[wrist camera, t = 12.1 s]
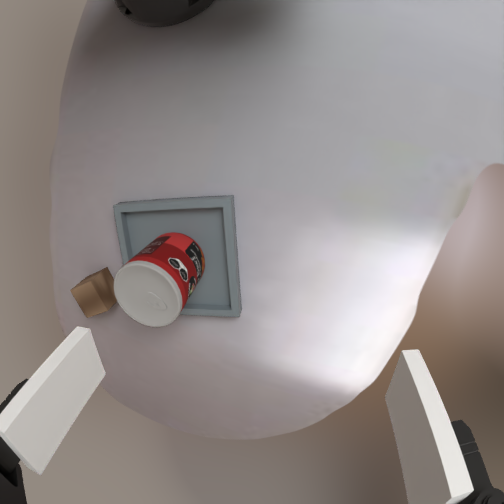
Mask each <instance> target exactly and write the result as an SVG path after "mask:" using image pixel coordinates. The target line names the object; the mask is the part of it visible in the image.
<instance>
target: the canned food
mask: <svg viewBox="0 0 504 504" xmlns="http://www.w3.org/2000/svg"><path fill="white" fill-rule="evenodd" d="M204 269H205V258H204V254H203V252H202V250H201V248H200V246H199V245H198V244H197V243H196V242H195V241H194V240H193V239H192V238H190V237H189V236H187V235H185V234H182V233H176V232H171V233H165V234H162V235H160V236H159V237H157V238H156V239H155V240H153V241H152V242H151V243H150V244H148V245H147V246H146V247H145V248H144V249H142V250H141V251H140V252H139V253H137V254H136V255H135V256H134V257H133V258H131V259H130V260H129V261H128V262H127V263H126V264H125V265H124V266H123V267H122V268H121V269H120V270H119V271H118V272H117V274H116V276H115V279H114V293H115V297H116V299H117V302H118V303H119V305H120V307H121V308H122V309H123V311H124V312H125V313H126V314H127V315H128V316H129V317H131V318H132V319H133V320H135V321H136V322H138V323H140V324H143V325H145V326H149V327H164V326H167V325H169V324H171V323H172V322H173V321H175V319H176V318H177V317H178V316H179V314H180V313H181V311H182V309H183V308H184V306H185V304H186V303H187V301H188V299H189V298H190V296H191V294H192V292H193V291H194V289H195V287H196V286H197V284H198V282H199V280H200V279H201V277H202V275H203V273H204Z"/></svg>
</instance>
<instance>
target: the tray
mask: <svg viewBox="0 0 504 504" xmlns="http://www.w3.org/2000/svg"><path fill="white" fill-rule="evenodd" d="M113 208H114V214H115V221H116V227H117V233H118V238H119V244H120V249H121V254H122V259H123V264H124V265H125V264H126V263H127V262H128V261H129V260H130V259H131V258H133V257H134V256H135V255H136V254H137V253H139V252H140V251H141V250H142V249H144V248H145V247H146V246H147V245H148V244H150V243H151V242H152V241H153V240H155V239H156V238H157V237H159V236H160V235H162V234H165V233H171V232H176V233H182V234H185V235H187V236H189V237H190V238H192V239H193V240H194V241H195V242H196V243H197V244H198V245H199V246H200V248H201V250H202V252H203V254H204V258H205V269H204V273H203V275H202V277H201V279H200V280H199V282H198V284H197V286H196V287H195V289H194V291H193V292H192V294H191V296H190V298H189V299H188V301H187V303H186V304H185V306H184V308H183V309H182V311H181V313H180V314H183V315H202V316H228V317H240V313H241V310H242V307H241V294H240V280H239V267H238V252H237V238H236V223H235V208H234V195H231V196H207V197H188V198H172V199H157V200H143V201H131V202H120V203H118V204H116V205H114V206H113Z"/></svg>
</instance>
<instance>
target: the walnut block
mask: <svg viewBox="0 0 504 504" xmlns="http://www.w3.org/2000/svg"><path fill="white" fill-rule="evenodd" d="M70 291H71V292H72V294H73V296H74V298H75V299H76V301H77V303H78V304H79V306H80V308H81V309H82V311H83V312H84V314H85V316H86V317H87V318H88V317H91V316H94V315H97V314H100V313H103V312H106V311H108V310H109V309H110V308H111V307H112V306H113V305H114V304H115V303H116V301H117V299H116V297H115V293H114V279H113V277H112V275H111V273H110V271H109V270H108V268H107V267H106V268H104V269H102V270H100V271H98V272H96V273H94V274H92V275H89V276H87V277H86V278H85V279H83V280H82V281H81V282H80V283H79V284H77V285H76V286H75V287H74V288H72V289H71V290H70Z"/></svg>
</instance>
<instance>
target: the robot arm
mask: <svg viewBox="0 0 504 504" xmlns="http://www.w3.org/2000/svg"><path fill="white" fill-rule="evenodd" d="M213 1H214V0H115V3H116V5H117V7H118V8H119V10H120V11H121V12H122V13H123V14H124V15H125V16H126V17H128V18H129V19H131V20H133V21H134V22H136V23H138V24H141V25H144V26H150V27H162V26H169V25H173V24H176V23H180V22H182V21H185V20H187V19H189V18H191V17H193V16H195V15H196V14H198V13H200V12H201V11H203V10H204V9H205V8H206V7H208V6H209V5H210V4H211V3H212V2H213ZM105 374H106V373H105V371H104V368H103V365H102V363H101V360H100V357H99V354H98V352H97V349H96V346H95V343H94V340H93V337H92V334H91V331H90V329H88V328H83V327H78V326H77V327H76V328H75V329H74V330H73V331H72V332H71V333H70V335H69V336H68V337H67V338H66V339H65V340H64V341H63V342H62V343H61V344H60V345H59V346H58V348H57V349H56V350H55V351H54V352H53V353H52V354H51V355H50V356H49V357H48V358H47V360H46V361H45V362H44V363H43V364H42V365H41V366H40V367H39V369H38V370H37V371H36V372H35V373H34V374H33V375H32V377H31V378H30V379H25V380H24V381H22V382H21V383H19V384H18V385H17V386H16V387H15V388H14V390H13V391H12V392H11V394H9V395H8V397H7V398H6V400H4V401H3V402H2V404H1V405H0V504H27V501H26V496H25V490H24V485H23V478H22V470H21V467H20V465H19V464H18V463H19V461H20V460H21V461H22V462H23V463H24V464H25V465H26V466H27V467H28V468H29V469H31V470H33V471H34V472H36V473H38V474H40V475H41V474H42V472H43V471H44V469H45V467H46V466H47V464H48V462H49V461H50V459H51V458H52V456H53V454H54V452H55V451H56V449H57V448H58V446H59V445H60V443H61V441H62V440H63V438H64V437H65V435H66V433H67V432H68V430H69V429H70V427H71V426H72V424H73V423H74V421H75V419H76V418H77V416H78V415H79V413H80V412H81V410H82V408H83V407H84V405H85V404H86V402H87V401H88V400H89V398H90V396H91V395H92V394H93V392H94V391H95V389H96V388H97V386H98V385H99V383H100V382H101V380H102V379H103V377H104V376H105ZM385 399H386V403H387V407H388V410H389V414H390V418H391V422H392V426H393V430H394V435H395V439H396V443H397V448H398V452H399V457H400V461H401V466H402V471H403V476H404V481H405V486H406V492H407V498H408V503H409V504H504V493H503V492H502V491H501V490H499V489H496V488H493V486H492V484H491V483H490V480H489V477H488V474H487V471H486V468H485V465H484V463H483V460H482V457H481V455H480V452H478V447H477V444H476V443H475V439H474V437H473V434H472V432H471V430H470V428H469V427H468V426H467V425H466V424H465V423H464V422H463V421H462V420H458V421H453V422H450V420H449V417H448V415H447V412H446V410H445V408H444V405H443V403H442V400H441V398H440V396H439V393H438V391H437V389H436V386H435V384H434V382H433V380H432V377H431V375H430V373H429V371H428V369H427V366H426V364H425V362H424V360H423V358H422V356H421V354H420V352H419V350H404V351H403V350H402V352H401V355H400V358H399V361H398V363H397V366H396V369H395V372H394V375H393V378H392V380H391V383H390V386H389V388H388V391H387V394H386V396H385Z"/></svg>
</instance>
